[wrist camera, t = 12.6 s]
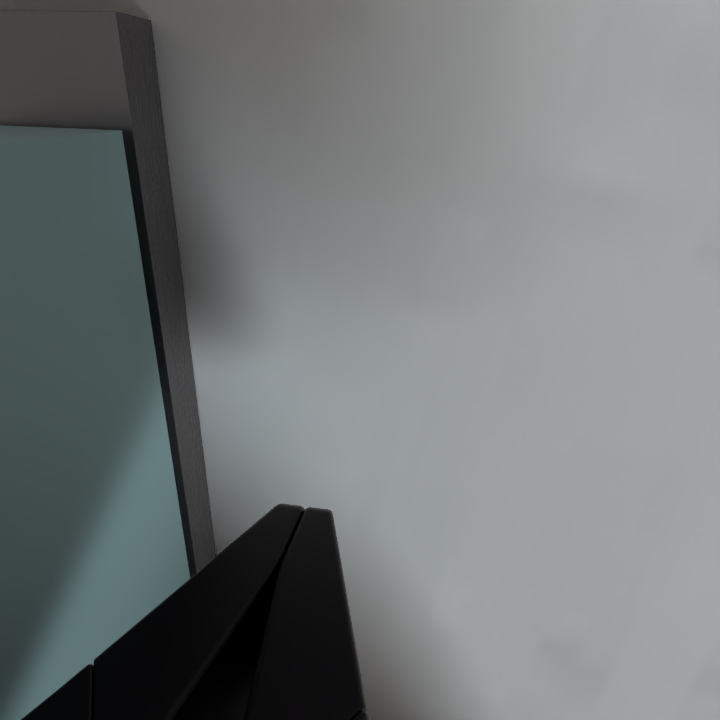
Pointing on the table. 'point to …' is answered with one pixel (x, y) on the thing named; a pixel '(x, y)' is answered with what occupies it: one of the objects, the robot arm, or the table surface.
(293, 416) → the table surface
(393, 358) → the table surface
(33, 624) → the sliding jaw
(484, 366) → the table surface
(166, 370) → the vise base
